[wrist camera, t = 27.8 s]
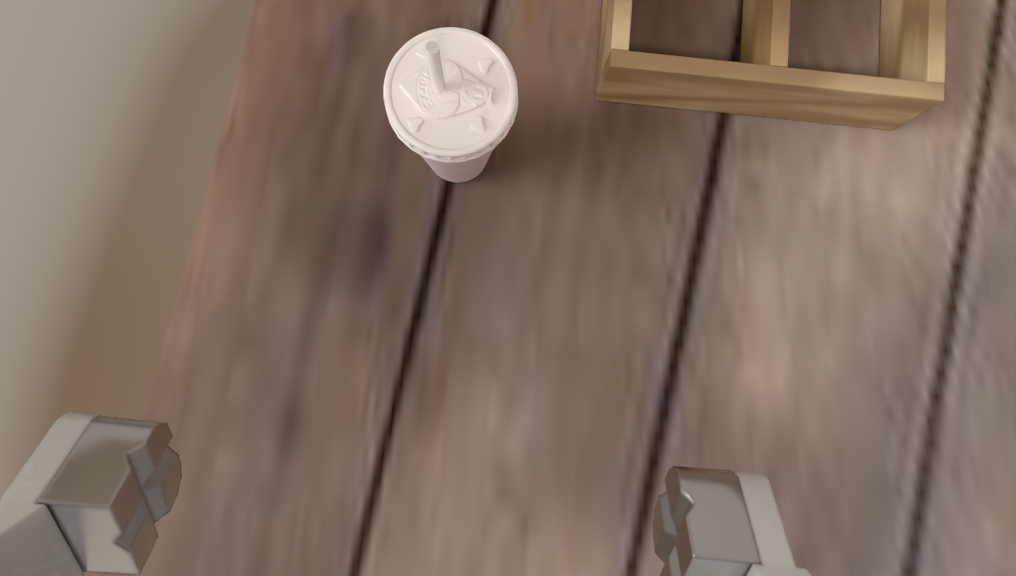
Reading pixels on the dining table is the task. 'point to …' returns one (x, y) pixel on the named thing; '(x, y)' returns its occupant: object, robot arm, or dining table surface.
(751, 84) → the rack
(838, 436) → the dining table surface
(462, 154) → the smoothie
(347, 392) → the dining table surface
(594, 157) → the dining table surface
